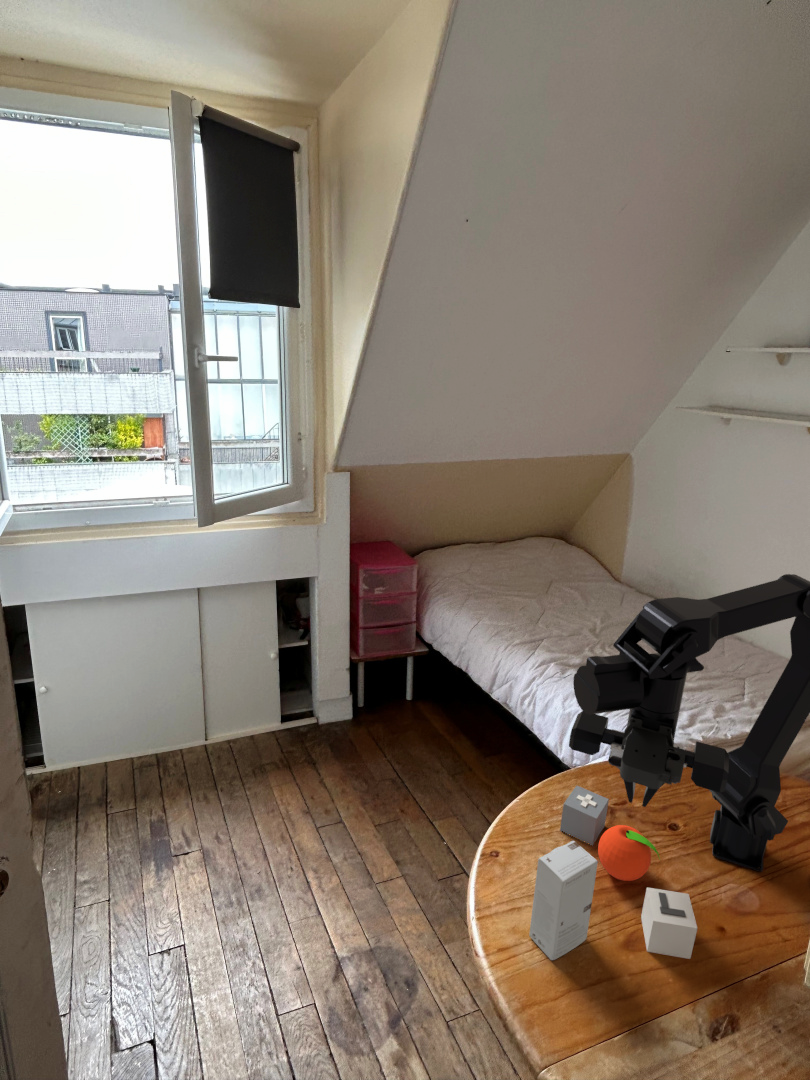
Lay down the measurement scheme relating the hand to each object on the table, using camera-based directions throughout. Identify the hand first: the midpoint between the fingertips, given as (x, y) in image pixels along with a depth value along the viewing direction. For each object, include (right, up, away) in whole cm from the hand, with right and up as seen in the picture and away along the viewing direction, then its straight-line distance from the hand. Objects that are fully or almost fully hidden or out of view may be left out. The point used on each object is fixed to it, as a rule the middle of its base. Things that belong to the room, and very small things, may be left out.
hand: (637, 802), depth 90 cm
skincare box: (-12, -15, -5) cm, 20 cm away
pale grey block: (+2, -15, -5) cm, 16 cm away
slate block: (-4, -8, +12) cm, 15 cm away
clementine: (0, -12, +4) cm, 12 cm away
